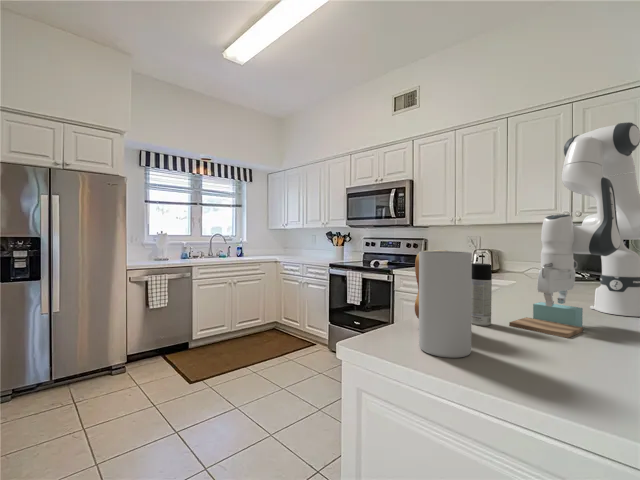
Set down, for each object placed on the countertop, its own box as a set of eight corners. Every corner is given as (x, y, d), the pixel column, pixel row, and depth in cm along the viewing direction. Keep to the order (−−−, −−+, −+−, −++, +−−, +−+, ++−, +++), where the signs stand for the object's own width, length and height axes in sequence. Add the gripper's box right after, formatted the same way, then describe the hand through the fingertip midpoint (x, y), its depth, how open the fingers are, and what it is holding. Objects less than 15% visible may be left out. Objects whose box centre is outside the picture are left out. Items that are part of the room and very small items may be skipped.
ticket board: (526, 320, 115) (526, 316, 115) (582, 331, 102) (582, 326, 102) (509, 325, 108) (509, 321, 108) (567, 338, 95) (567, 333, 95)
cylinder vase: (408, 345, 88) (409, 251, 88) (446, 340, 93) (446, 250, 92) (442, 361, 76) (442, 253, 76) (482, 355, 81) (483, 252, 81)
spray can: (486, 321, 114) (486, 263, 114) (495, 326, 107) (495, 264, 107) (466, 320, 115) (466, 263, 114) (473, 326, 108) (473, 264, 108)
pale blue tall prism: (540, 319, 117) (540, 302, 117) (582, 326, 107) (582, 307, 107) (533, 321, 113) (533, 303, 113) (575, 329, 104) (575, 310, 104)
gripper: (554, 264, 102) (553, 309, 101) (579, 263, 113) (578, 303, 113) (531, 263, 107) (530, 306, 107) (557, 261, 118) (557, 300, 118)
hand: (555, 304), depth 110 cm, fingers open, 8 cm apart
